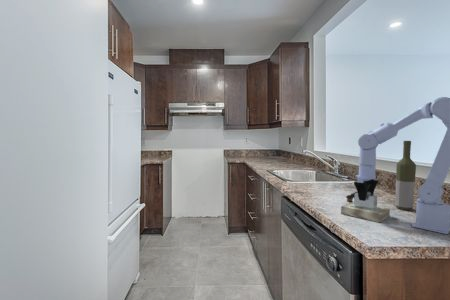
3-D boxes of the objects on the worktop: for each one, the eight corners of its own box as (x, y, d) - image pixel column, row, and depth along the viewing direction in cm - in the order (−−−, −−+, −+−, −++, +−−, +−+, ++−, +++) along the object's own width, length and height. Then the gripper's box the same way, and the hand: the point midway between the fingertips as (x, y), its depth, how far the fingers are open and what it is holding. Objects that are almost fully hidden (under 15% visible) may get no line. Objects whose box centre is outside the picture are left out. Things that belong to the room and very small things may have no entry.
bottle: (417, 211, 109) (420, 141, 108) (398, 210, 110) (402, 140, 109) (408, 207, 116) (412, 140, 115) (391, 206, 117) (394, 140, 116)
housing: (376, 207, 102) (377, 192, 101) (373, 209, 98) (374, 194, 98) (358, 204, 107) (358, 189, 106) (354, 205, 103) (354, 191, 103)
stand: (389, 216, 102) (389, 207, 101) (379, 222, 93) (380, 213, 93) (352, 208, 112) (352, 201, 112) (340, 213, 104) (341, 205, 103)
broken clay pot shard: (364, 211, 109) (354, 193, 111) (348, 215, 117) (339, 198, 120) (382, 202, 114) (372, 185, 116) (366, 206, 122) (357, 190, 124)
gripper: (362, 163, 110) (361, 194, 110) (349, 165, 100) (348, 199, 100) (381, 164, 104) (380, 197, 105) (369, 166, 94) (367, 203, 95)
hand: (365, 199), depth 102 cm, fingers open, 7 cm apart
